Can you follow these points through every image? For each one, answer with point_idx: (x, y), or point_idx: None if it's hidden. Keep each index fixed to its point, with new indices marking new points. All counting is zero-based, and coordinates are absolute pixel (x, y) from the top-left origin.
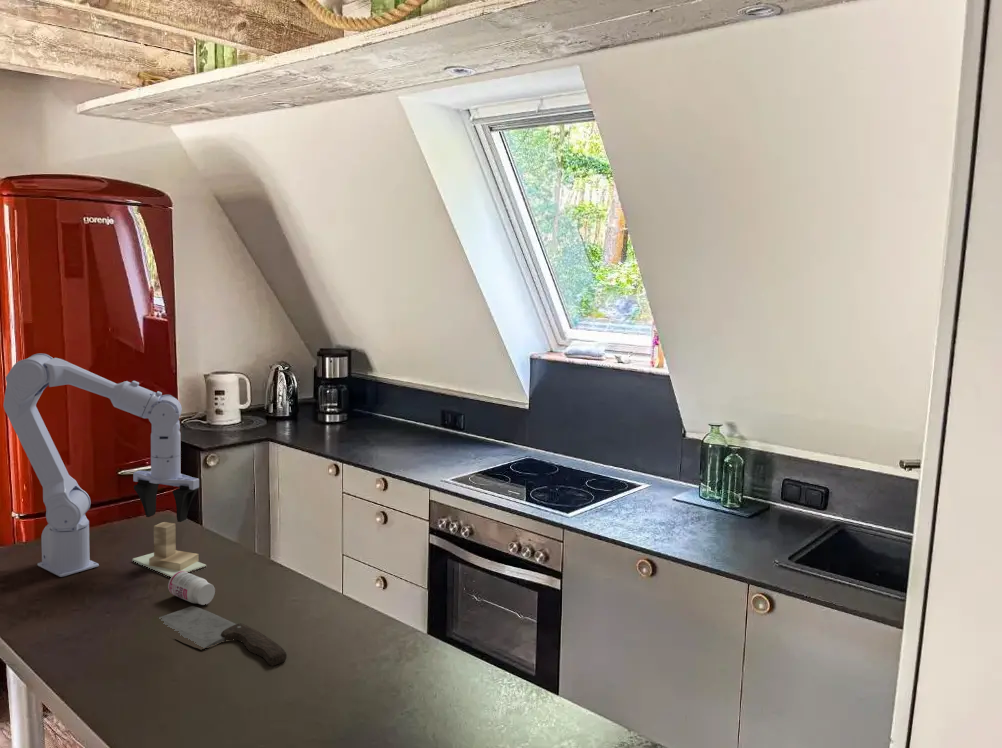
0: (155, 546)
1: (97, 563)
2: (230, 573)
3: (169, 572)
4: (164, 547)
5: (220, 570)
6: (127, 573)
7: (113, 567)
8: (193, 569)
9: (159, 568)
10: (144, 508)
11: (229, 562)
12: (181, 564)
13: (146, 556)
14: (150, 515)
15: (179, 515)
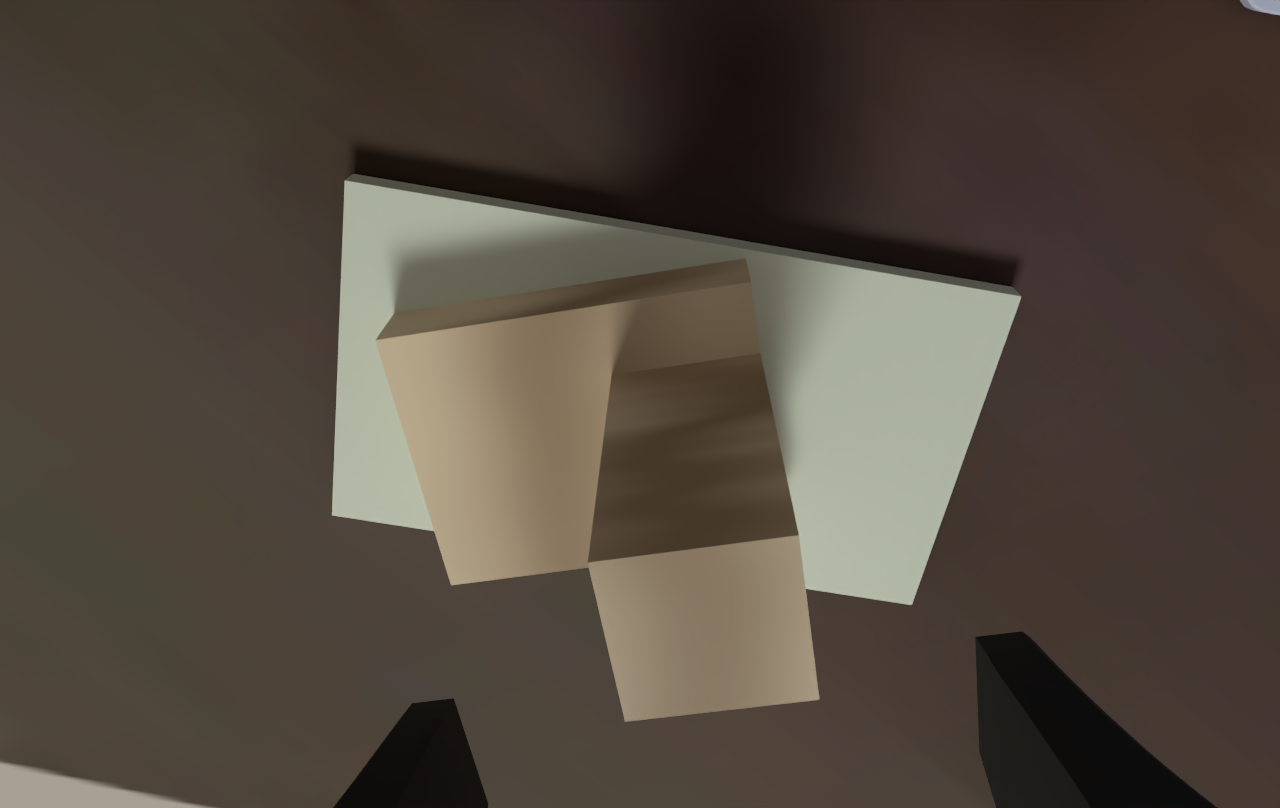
0: (749, 403)
1: (1274, 6)
2: (87, 510)
3: (439, 230)
4: (627, 421)
5: (203, 516)
6: (828, 39)
7: (1077, 78)
8: (338, 397)
9: (597, 251)
10: (1086, 713)
11: (295, 656)
12: (383, 349)
13: (938, 399)
14: (981, 681)
15: (366, 772)
